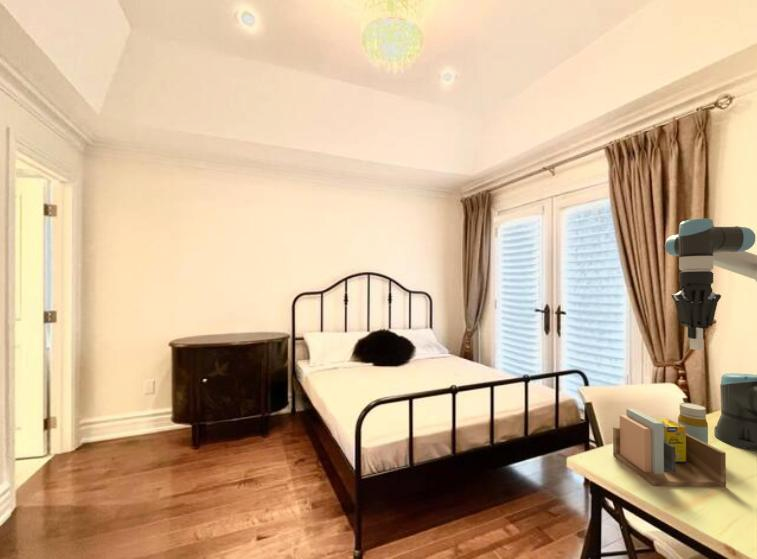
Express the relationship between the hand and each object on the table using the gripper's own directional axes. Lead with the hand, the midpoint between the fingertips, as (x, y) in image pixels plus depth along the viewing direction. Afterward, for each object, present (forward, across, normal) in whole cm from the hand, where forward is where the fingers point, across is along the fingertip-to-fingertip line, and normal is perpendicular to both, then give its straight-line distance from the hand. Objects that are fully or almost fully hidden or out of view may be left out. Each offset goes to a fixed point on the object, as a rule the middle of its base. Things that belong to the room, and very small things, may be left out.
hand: (696, 349), depth 102 cm
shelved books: (+33, +18, +2) cm, 38 cm away
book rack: (+34, +12, +3) cm, 37 cm away
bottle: (+35, -5, -7) cm, 36 cm away
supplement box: (+33, +8, -1) cm, 34 cm away
